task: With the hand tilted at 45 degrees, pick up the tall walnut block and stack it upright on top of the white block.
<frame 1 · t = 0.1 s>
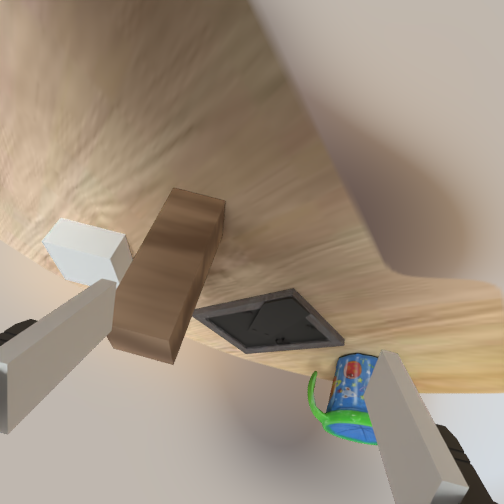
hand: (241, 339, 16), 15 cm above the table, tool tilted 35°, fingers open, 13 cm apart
white block: (102, 244, 43), on the table
picture frame: (267, 319, 49), on the table
snack cup: (363, 361, 51), on the table
walnut block: (199, 212, 33), on the table
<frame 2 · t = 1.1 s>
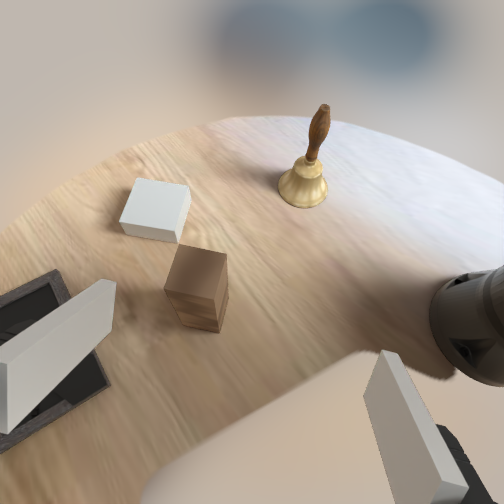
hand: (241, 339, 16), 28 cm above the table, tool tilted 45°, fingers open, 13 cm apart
white block: (160, 217, 52), on the table
picture frame: (35, 354, 43), on the table
hand bell: (302, 188, 56), on the table
walnut block: (206, 311, 46), on the table
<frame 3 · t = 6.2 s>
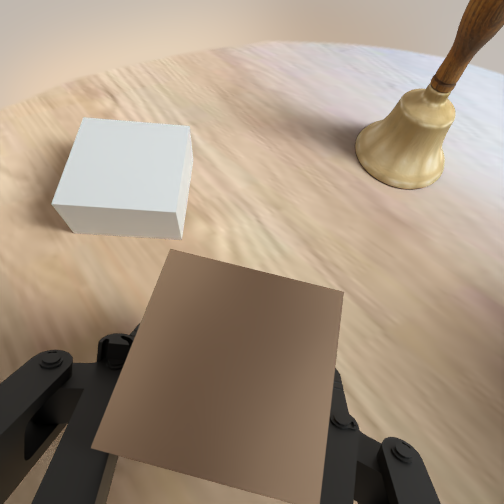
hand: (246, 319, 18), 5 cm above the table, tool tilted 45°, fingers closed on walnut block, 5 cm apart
white block: (138, 195, 27), on the table
hand bell: (397, 156, 32), on the table
walnut block: (227, 398, 21), on the table, touching gripper
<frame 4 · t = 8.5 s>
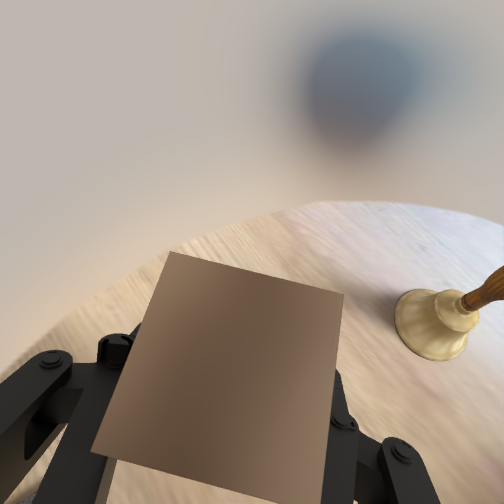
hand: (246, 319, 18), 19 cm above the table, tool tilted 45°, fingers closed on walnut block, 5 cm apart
hand bell: (428, 324, 38), on the table
walnut block: (227, 400, 21), point 14 cm above the table, touching gripper
when the fingers open (10 cm above the table, at t = 11.0 s): walnut block drops 1 cm, point 4 cm above the table.
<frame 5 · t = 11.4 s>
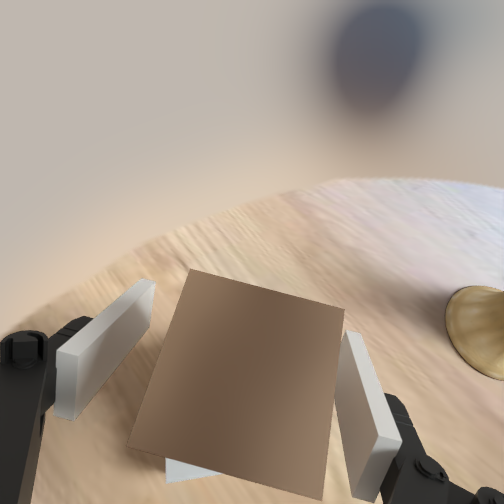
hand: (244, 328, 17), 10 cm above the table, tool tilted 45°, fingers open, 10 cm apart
white block: (226, 403, 25), on the table
hand bell: (490, 331, 30), on the table
walnut block: (230, 397, 22), point 4 cm above the table
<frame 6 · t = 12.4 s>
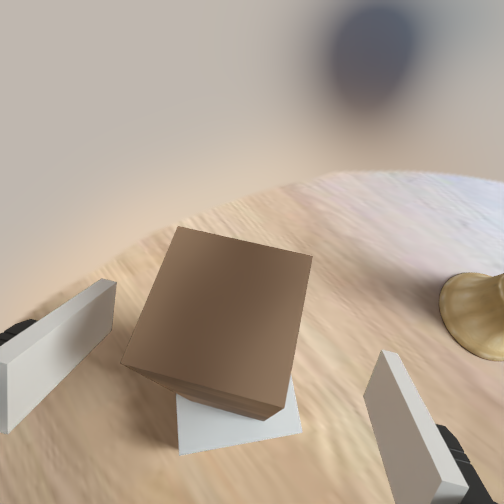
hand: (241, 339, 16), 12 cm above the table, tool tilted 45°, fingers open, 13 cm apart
white block: (232, 384, 27), on the table
hand bell: (481, 315, 31), on the table
walnut block: (236, 372, 23), point 4 cm above the table
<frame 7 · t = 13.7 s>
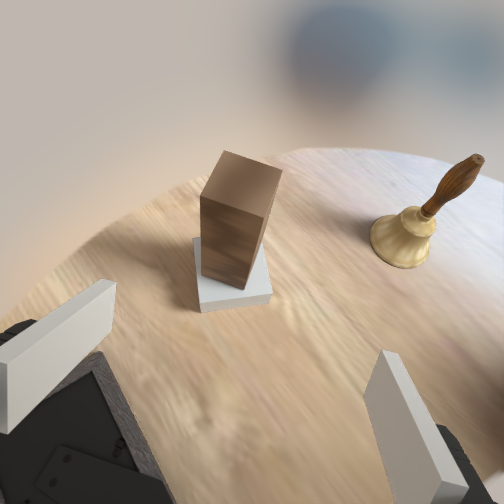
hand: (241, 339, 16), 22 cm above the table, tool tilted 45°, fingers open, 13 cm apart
white block: (230, 278, 42), on the table, touching walnut block
picture frame: (77, 476, 32), on the table
hand bell: (398, 242, 46), on the table
walnut block: (230, 263, 38), point 4 cm above the table, touching white block
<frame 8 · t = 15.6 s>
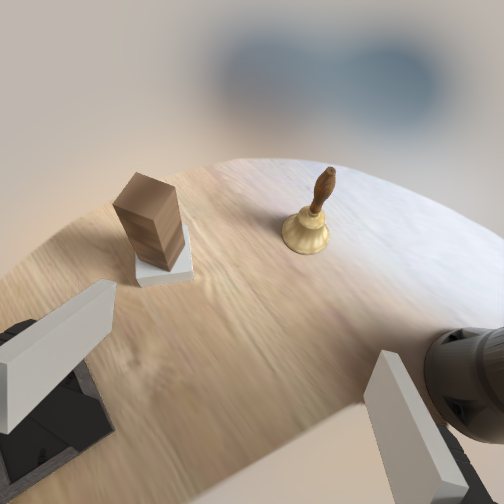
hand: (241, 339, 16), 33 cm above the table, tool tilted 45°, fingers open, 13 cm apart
white block: (166, 261, 54), on the table, touching walnut block
picture frame: (40, 398, 44), on the table
hand bell: (304, 234, 58), on the table
walnut block: (162, 252, 50), point 4 cm above the table, touching white block
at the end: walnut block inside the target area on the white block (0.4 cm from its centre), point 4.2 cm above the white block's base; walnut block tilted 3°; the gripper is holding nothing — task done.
